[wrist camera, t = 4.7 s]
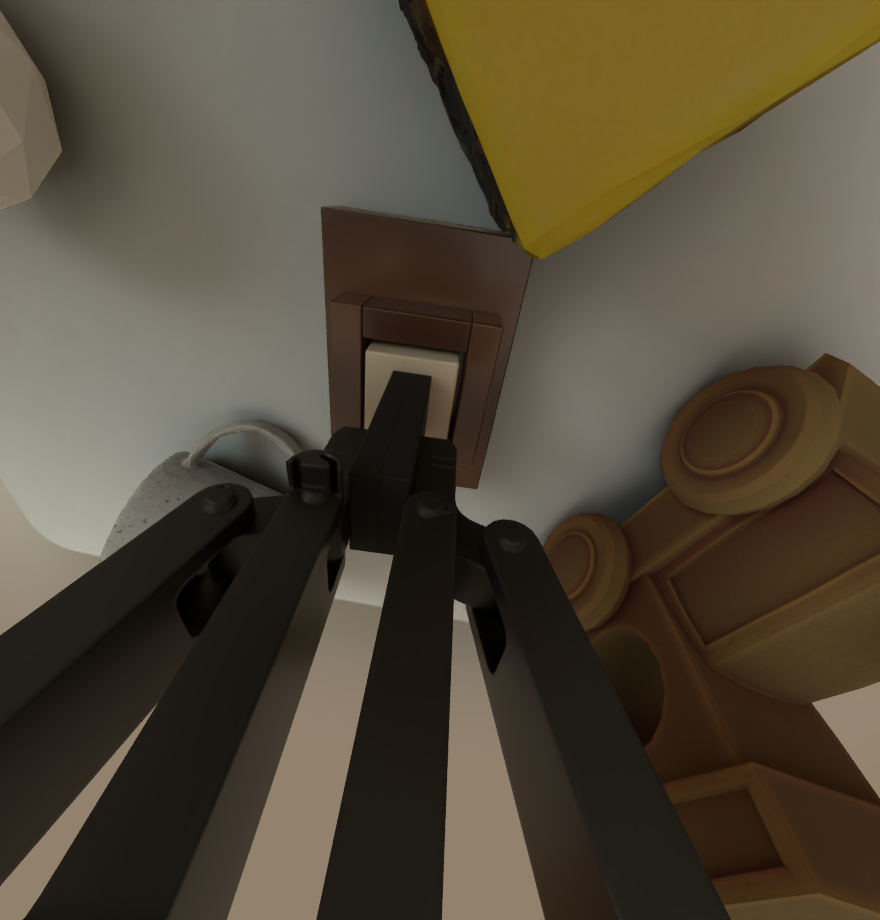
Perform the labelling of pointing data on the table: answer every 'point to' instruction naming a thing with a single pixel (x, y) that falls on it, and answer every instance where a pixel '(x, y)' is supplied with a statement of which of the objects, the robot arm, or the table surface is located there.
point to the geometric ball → (23, 122)
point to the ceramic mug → (187, 482)
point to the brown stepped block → (422, 311)
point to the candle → (614, 91)
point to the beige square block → (419, 361)
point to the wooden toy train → (751, 631)
